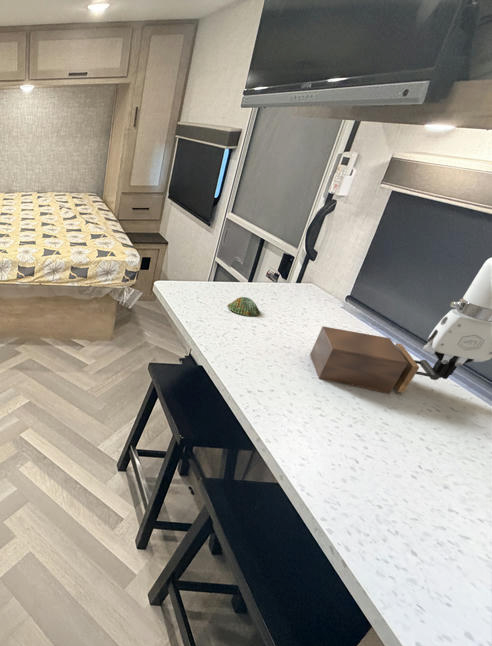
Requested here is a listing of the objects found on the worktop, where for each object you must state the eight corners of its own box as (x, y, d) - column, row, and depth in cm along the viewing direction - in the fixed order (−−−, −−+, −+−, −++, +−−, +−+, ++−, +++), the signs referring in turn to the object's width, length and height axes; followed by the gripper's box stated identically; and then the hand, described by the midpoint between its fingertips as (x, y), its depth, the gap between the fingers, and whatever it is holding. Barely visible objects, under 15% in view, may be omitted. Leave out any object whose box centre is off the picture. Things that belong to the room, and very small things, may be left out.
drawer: (414, 373, 106) (429, 349, 102) (432, 399, 97) (450, 373, 93) (327, 356, 113) (338, 332, 109) (336, 378, 104) (349, 353, 100)
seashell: (232, 302, 136) (230, 291, 144) (228, 312, 138) (226, 301, 146) (265, 309, 133) (261, 298, 141) (260, 320, 135) (257, 308, 143)
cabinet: (373, 367, 110) (389, 338, 105) (389, 394, 100) (408, 362, 95) (309, 354, 116) (322, 326, 111) (318, 378, 106) (333, 348, 101)
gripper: (444, 310, 90) (405, 375, 99) (539, 325, 84) (489, 392, 93) (431, 297, 96) (395, 359, 105) (519, 310, 90) (473, 375, 99)
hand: (439, 375), depth 99 cm, fingers closed
